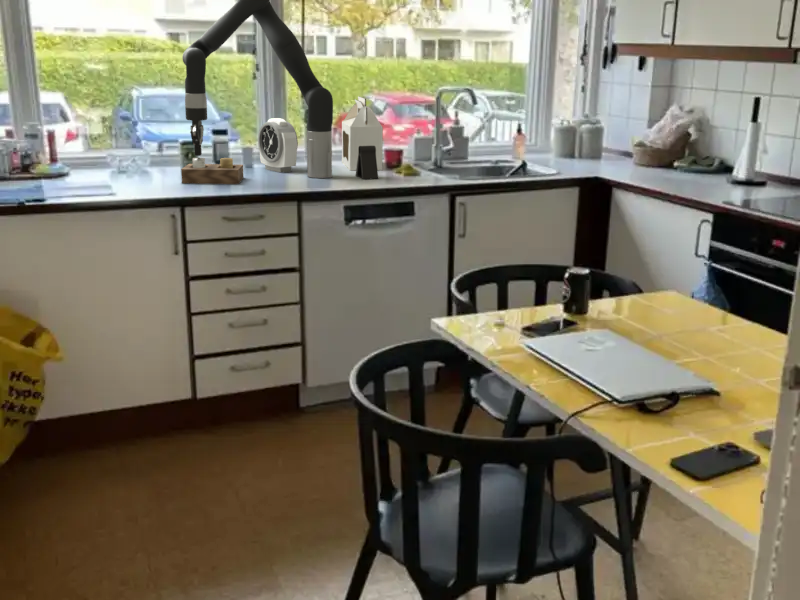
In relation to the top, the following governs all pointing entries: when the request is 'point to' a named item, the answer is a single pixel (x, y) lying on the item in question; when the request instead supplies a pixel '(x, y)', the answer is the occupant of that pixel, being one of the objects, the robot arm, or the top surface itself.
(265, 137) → the alarm clock
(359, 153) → the door stopper
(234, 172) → the block
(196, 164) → the steel bushing
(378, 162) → the gable box
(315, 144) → the robot arm
